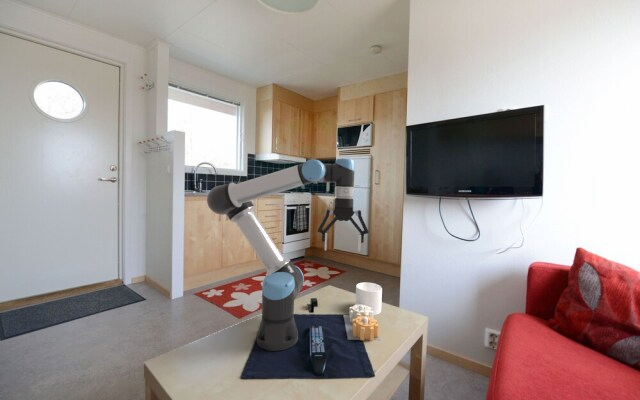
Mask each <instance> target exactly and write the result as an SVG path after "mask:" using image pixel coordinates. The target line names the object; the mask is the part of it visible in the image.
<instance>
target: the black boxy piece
mask: <svg viewBox="0 0 640 400" xmlns="http://www.w3.org/2000/svg"><path fill="white" fill-rule="evenodd" d="M318 301H319V300H318V299H317V298H316V297H313V298H312V297H311V298H310V303H306V306H307V310H308V313H311V314H313V313H315V308H316V307H317V308H318V303H319V302H318Z"/></svg>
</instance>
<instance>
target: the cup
mask: <svg viewBox="0 0 640 400" xmlns="http://www.w3.org/2000/svg"><path fill="white" fill-rule="evenodd" d="M382 295H383V288H382V285H379V284H377V283H374V282H370V281H369V282H368V281H367V282H366V281H365V282H360V283H357V284H356V286H355V305H356V304H359V305H366V306H368V307H371V308H372V311H373V316H374V315H375V316H376V315H378V314H380V313H382V303H383V302H382V299H383V297H382Z"/></svg>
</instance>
